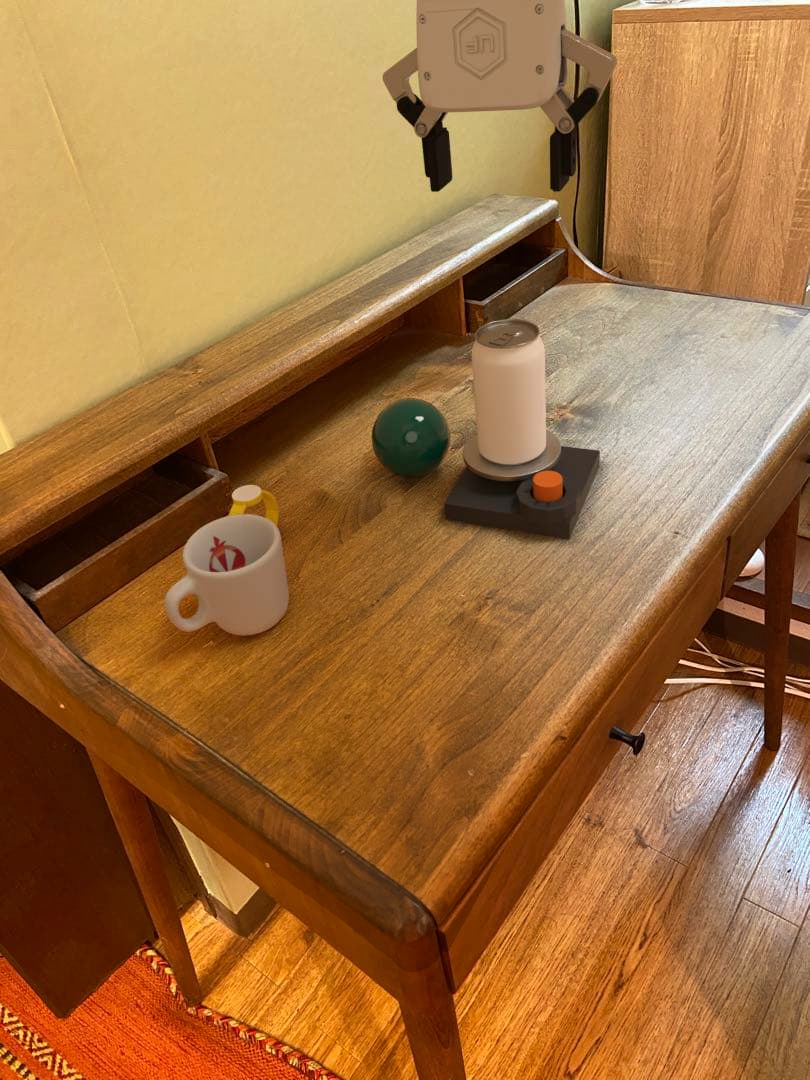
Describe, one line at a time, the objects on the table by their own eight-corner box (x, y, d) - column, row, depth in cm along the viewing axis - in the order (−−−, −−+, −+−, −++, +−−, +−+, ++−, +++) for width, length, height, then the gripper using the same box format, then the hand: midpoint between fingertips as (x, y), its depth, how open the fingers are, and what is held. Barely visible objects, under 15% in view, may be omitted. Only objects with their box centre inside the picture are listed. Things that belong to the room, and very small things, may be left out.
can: (559, 441, 79) (558, 324, 72) (521, 475, 75) (516, 355, 68) (503, 424, 83) (498, 311, 75) (465, 455, 79) (455, 340, 72)
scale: (602, 466, 82) (603, 436, 80) (570, 544, 73) (570, 513, 71) (485, 452, 87) (483, 423, 84) (442, 524, 78) (438, 494, 76)
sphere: (363, 469, 87) (351, 403, 82) (425, 441, 90) (417, 375, 85) (403, 503, 81) (393, 434, 76) (469, 472, 84) (463, 403, 79)
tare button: (565, 488, 75) (565, 472, 74) (558, 504, 73) (558, 488, 72) (537, 484, 76) (537, 468, 75) (529, 500, 74) (529, 484, 73)
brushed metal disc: (571, 433, 81) (571, 428, 81) (546, 487, 74) (546, 482, 74) (481, 423, 84) (481, 418, 84) (449, 474, 78) (448, 469, 78)
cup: (209, 682, 65) (180, 609, 60) (163, 634, 70) (132, 563, 65) (317, 611, 70) (298, 538, 65) (266, 571, 75) (245, 501, 70)
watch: (253, 566, 76) (237, 515, 73) (229, 559, 77) (213, 509, 74) (289, 528, 80) (276, 478, 76) (267, 523, 81) (252, 473, 78)
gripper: (344, -66, 54) (379, 201, 65) (607, -101, 48) (599, 202, 58) (389, -76, 59) (416, 173, 70) (633, -109, 53) (621, 171, 64)
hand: (499, 186), depth 64 cm, fingers open, 9 cm apart
